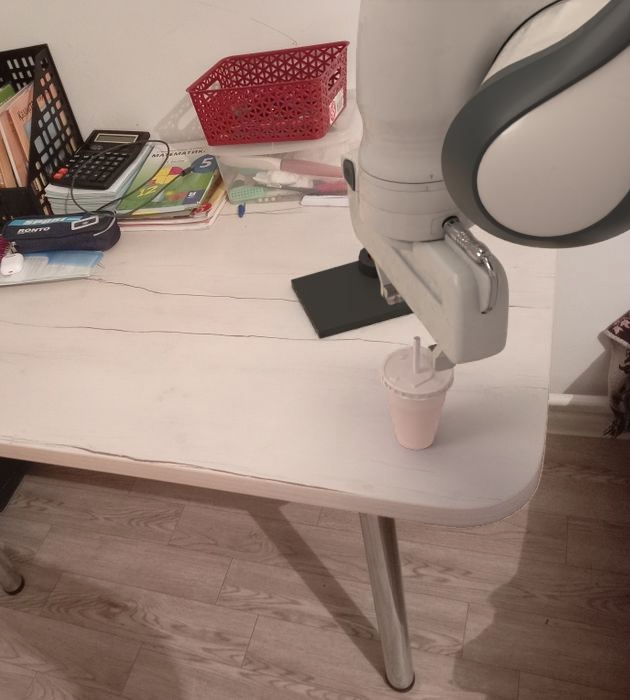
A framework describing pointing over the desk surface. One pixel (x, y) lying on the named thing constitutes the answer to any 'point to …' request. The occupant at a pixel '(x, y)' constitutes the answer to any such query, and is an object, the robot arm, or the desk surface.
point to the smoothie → (415, 394)
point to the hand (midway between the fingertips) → (415, 329)
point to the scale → (345, 297)
